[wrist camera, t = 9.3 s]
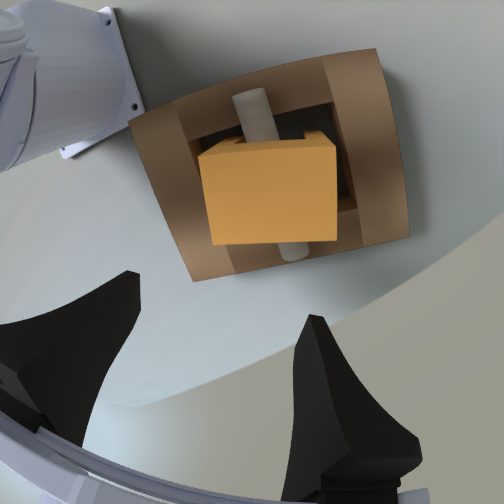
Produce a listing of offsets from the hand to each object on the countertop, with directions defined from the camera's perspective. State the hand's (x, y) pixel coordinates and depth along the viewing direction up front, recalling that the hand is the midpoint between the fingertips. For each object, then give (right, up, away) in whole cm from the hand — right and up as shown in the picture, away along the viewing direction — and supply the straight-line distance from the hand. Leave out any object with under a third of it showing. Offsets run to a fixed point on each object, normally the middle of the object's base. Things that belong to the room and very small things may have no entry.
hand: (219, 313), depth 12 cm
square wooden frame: (+3, +8, +6) cm, 10 cm away
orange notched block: (+3, +8, +6) cm, 10 cm away
